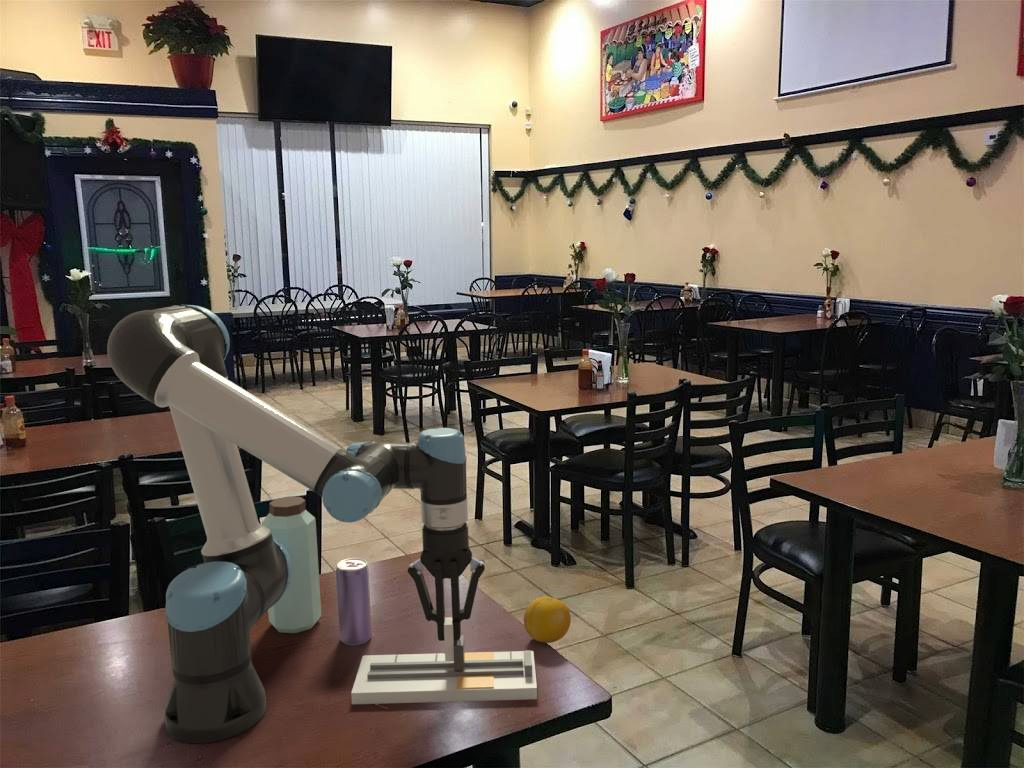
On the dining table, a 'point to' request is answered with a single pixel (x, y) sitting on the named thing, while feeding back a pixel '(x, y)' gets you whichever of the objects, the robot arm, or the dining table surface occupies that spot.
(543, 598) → the fruit
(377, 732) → the dining table surface
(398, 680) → the console
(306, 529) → the water bottle
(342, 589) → the beverage can
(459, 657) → the fader
